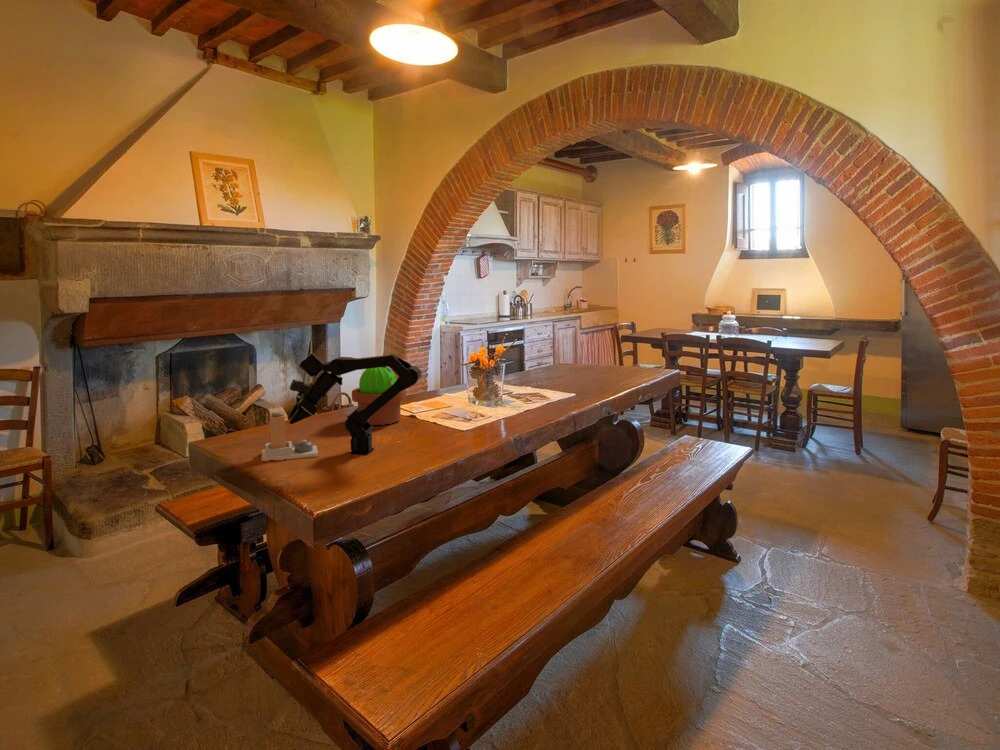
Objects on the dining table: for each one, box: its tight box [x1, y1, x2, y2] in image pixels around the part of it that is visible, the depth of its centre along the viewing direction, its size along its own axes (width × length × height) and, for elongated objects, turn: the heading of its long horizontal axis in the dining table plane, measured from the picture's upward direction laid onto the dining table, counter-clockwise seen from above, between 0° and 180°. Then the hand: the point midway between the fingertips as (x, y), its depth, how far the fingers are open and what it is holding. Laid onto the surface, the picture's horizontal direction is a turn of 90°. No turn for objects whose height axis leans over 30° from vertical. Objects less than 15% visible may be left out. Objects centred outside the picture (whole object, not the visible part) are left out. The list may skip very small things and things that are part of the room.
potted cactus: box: [351, 366, 407, 426], centre depth 247 cm, size 22×22×25 cm
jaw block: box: [269, 411, 287, 449], centre depth 199 cm, size 4×4×14 cm
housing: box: [261, 439, 319, 462], centre depth 201 cm, size 18×10×5 cm, turn 110°
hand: (289, 420), depth 200 cm, fingers open, 9 cm apart
